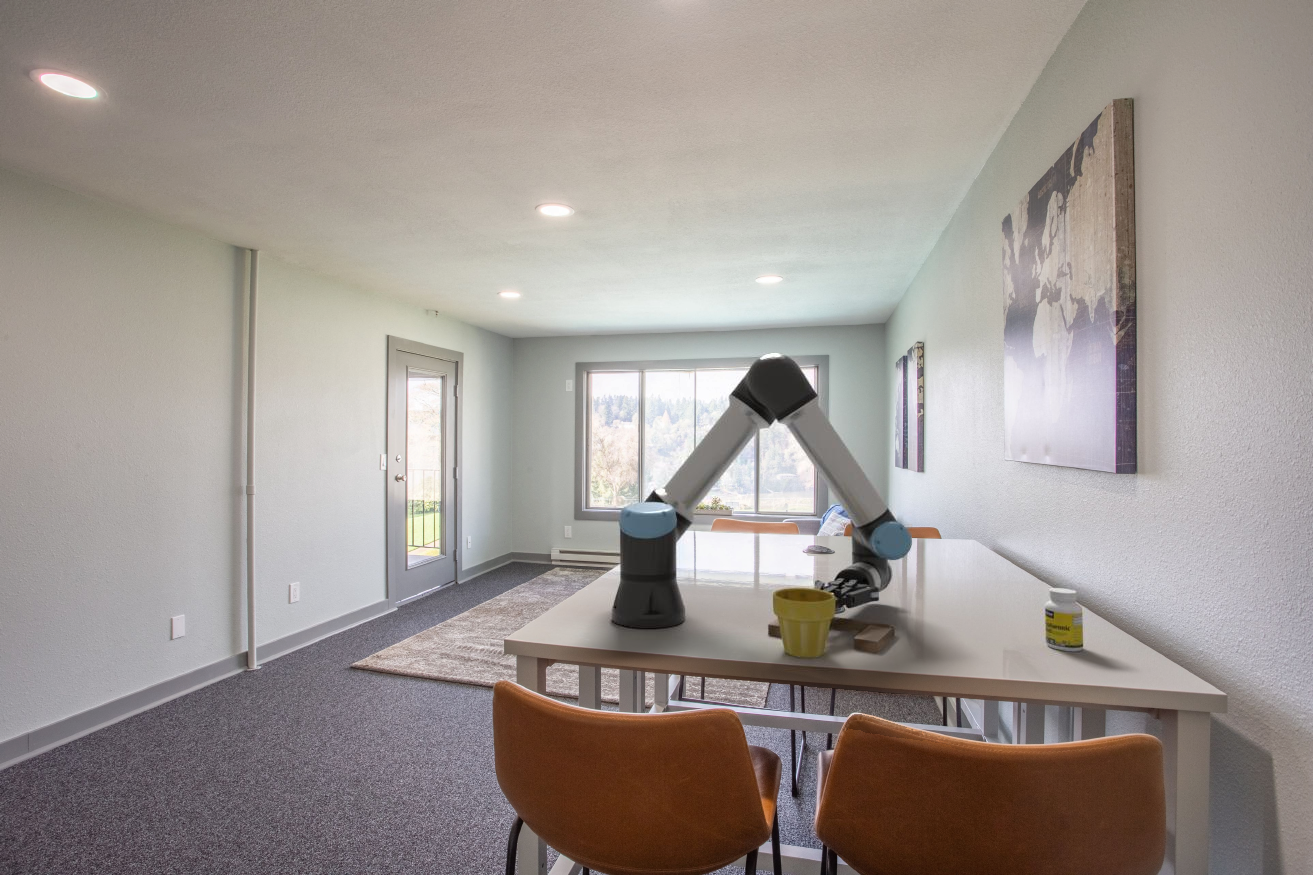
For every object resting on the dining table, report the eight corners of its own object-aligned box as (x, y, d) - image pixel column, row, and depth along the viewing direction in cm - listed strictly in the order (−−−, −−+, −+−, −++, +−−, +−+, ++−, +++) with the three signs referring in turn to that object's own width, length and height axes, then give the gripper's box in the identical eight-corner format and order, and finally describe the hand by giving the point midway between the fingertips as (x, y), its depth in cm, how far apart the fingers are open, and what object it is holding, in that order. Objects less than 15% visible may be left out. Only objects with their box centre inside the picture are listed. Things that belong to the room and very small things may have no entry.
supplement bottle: (1038, 644, 108) (1037, 588, 108) (1059, 640, 110) (1057, 585, 110) (1070, 653, 103) (1068, 594, 103) (1090, 649, 105) (1089, 591, 105)
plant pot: (839, 663, 99) (838, 602, 99) (774, 660, 100) (773, 600, 101) (832, 643, 109) (831, 588, 109) (773, 641, 111) (772, 586, 111)
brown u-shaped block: (768, 633, 115) (768, 624, 115) (792, 619, 125) (792, 610, 125) (877, 652, 104) (877, 641, 104) (895, 635, 114) (895, 625, 114)
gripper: (890, 605, 125) (855, 634, 105) (826, 597, 132) (783, 623, 113) (889, 568, 125) (854, 590, 105) (826, 562, 132) (782, 581, 113)
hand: (818, 607), depth 109 cm, fingers closed
